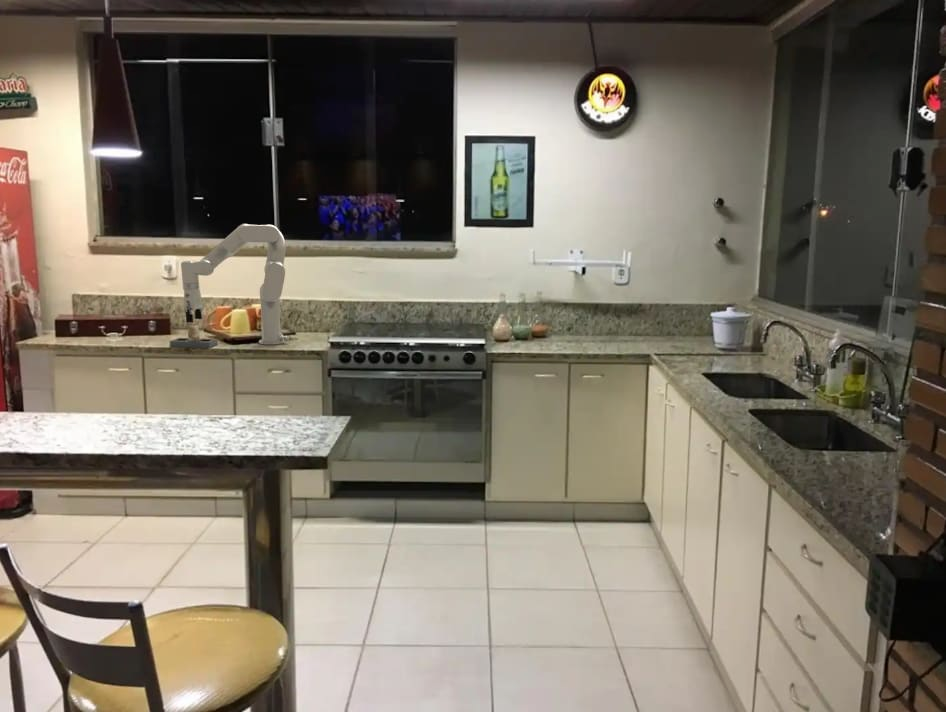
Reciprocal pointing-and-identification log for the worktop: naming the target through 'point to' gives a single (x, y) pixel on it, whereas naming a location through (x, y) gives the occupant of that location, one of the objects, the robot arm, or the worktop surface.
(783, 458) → the worktop surface
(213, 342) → the grey compartment tray
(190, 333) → the beech peg
